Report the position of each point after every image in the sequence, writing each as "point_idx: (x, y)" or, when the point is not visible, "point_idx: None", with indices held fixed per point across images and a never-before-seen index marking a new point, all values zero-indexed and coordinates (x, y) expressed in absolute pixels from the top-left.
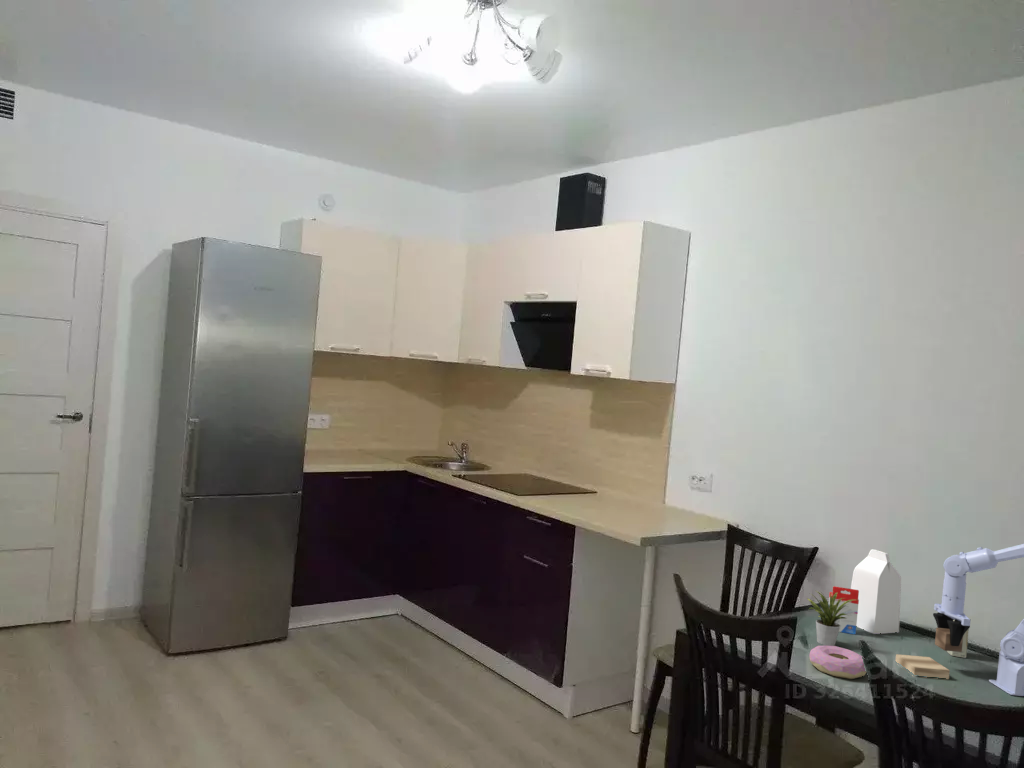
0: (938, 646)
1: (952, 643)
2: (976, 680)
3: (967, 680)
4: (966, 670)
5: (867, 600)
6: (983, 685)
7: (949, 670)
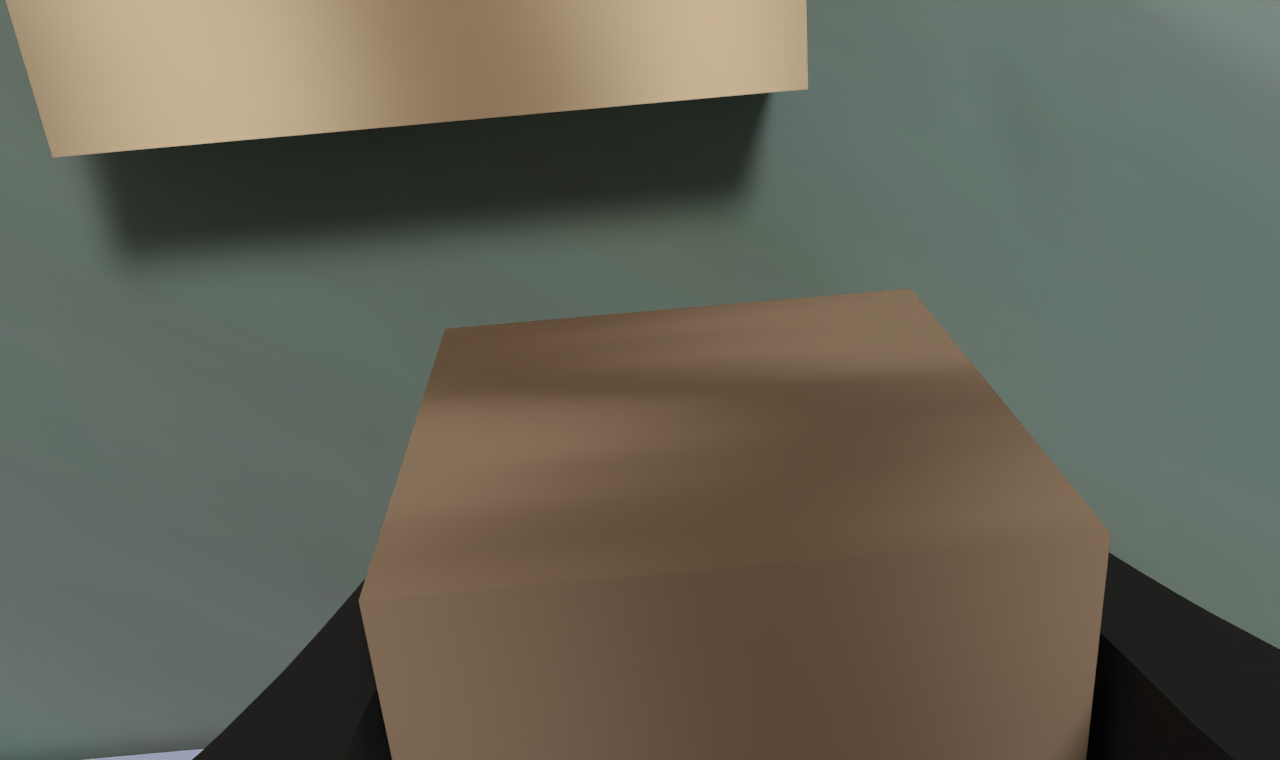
0: (739, 306)
1: (357, 591)
2: (308, 587)
3: (238, 445)
4: None
5: None
6: (116, 592)
7: (55, 154)
